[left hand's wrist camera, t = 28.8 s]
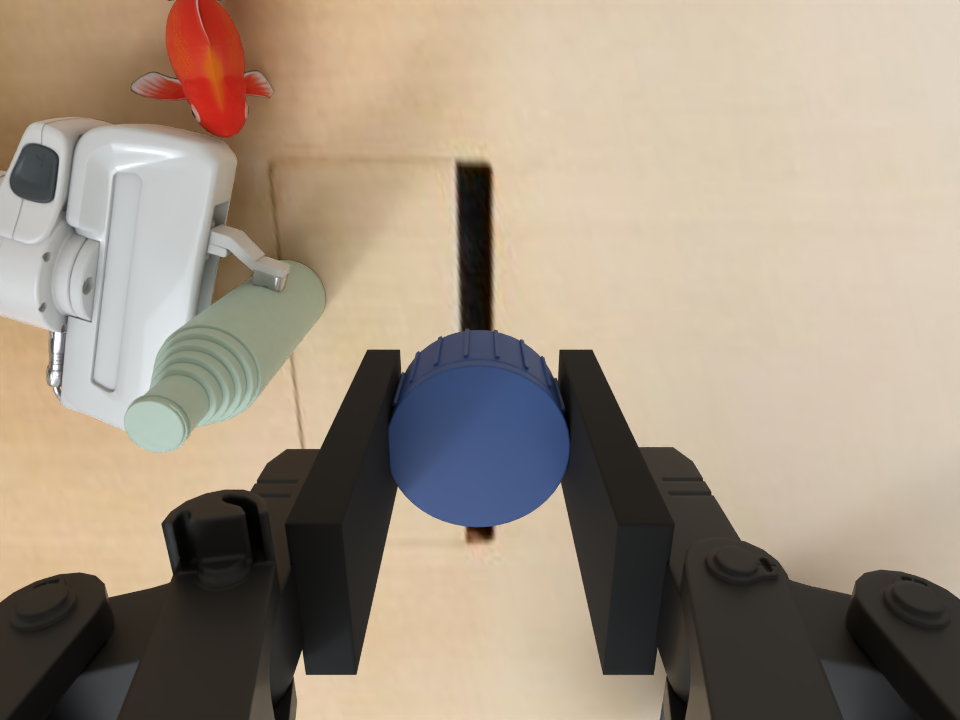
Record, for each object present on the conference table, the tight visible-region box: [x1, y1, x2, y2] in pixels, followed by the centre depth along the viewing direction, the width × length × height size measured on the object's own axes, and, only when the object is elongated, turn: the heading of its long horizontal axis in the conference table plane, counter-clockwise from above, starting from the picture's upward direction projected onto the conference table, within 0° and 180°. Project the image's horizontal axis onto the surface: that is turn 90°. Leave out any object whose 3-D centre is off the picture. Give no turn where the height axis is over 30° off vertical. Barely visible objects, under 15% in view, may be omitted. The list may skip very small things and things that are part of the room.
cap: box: [388, 329, 570, 527], centre depth 14 cm, size 4×4×2 cm
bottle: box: [124, 260, 326, 453], centre depth 36 cm, size 5×5×21 cm
